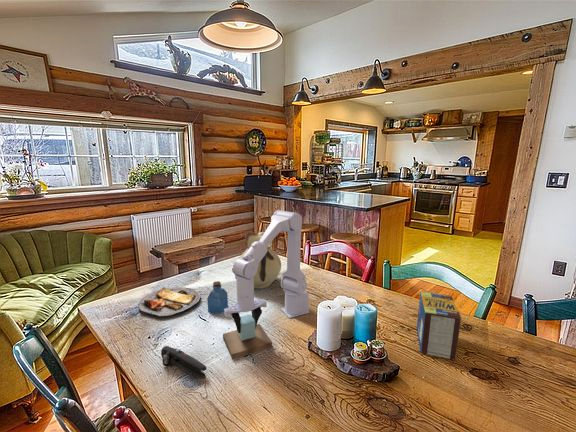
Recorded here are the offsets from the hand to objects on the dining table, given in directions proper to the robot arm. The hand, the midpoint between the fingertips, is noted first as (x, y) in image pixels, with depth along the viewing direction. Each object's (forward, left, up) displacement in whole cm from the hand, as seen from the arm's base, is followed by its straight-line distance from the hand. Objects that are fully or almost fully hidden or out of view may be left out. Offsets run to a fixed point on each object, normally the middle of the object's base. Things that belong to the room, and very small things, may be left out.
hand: (246, 329), depth 99 cm
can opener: (+21, +3, -6) cm, 22 cm away
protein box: (-59, +29, -6) cm, 66 cm away
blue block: (0, 0, -2) cm, 2 cm away
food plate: (+22, -41, -6) cm, 47 cm away
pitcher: (-21, -42, -5) cm, 47 cm away
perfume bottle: (+4, -27, -6) cm, 28 cm away
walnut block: (0, 0, -6) cm, 6 cm away
